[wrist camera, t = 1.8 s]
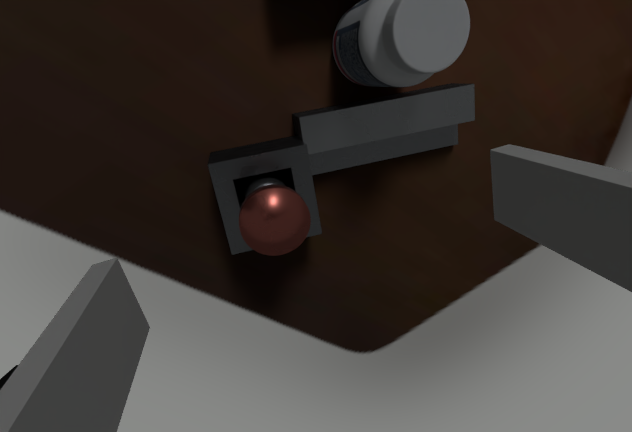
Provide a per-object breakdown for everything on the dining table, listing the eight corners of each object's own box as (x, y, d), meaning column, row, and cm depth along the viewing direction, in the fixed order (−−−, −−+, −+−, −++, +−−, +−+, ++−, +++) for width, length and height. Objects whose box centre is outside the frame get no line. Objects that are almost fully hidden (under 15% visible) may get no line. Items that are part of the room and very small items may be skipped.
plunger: (244, 225, 26) (248, 262, 21) (230, 171, 25) (231, 197, 20) (298, 213, 27) (316, 246, 22) (288, 159, 26) (304, 181, 20)
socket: (303, 175, 28) (310, 184, 26) (256, -85, 23) (260, -105, 20) (453, 142, 30) (475, 148, 28) (445, -107, 24) (471, -128, 22)
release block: (231, 232, 29) (231, 254, 25) (210, 152, 27) (207, 164, 23) (310, 214, 30) (321, 233, 26) (296, 135, 27) (306, 144, 24)
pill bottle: (379, 100, 28) (442, 109, 20) (317, 60, 26) (358, 52, 18) (419, 30, 27) (503, 9, 19) (357, -17, 25) (420, -62, 17)
